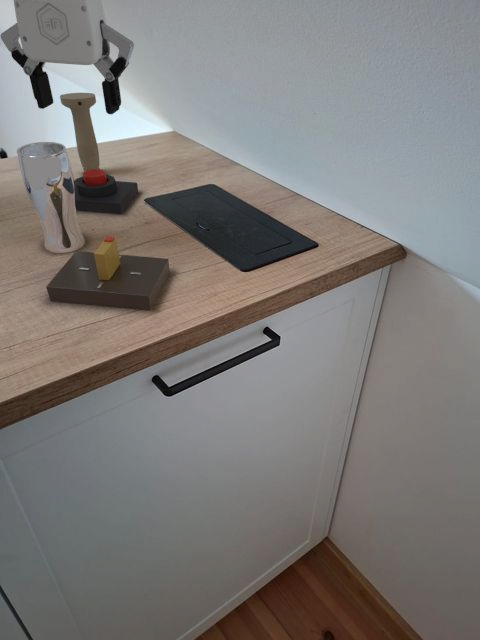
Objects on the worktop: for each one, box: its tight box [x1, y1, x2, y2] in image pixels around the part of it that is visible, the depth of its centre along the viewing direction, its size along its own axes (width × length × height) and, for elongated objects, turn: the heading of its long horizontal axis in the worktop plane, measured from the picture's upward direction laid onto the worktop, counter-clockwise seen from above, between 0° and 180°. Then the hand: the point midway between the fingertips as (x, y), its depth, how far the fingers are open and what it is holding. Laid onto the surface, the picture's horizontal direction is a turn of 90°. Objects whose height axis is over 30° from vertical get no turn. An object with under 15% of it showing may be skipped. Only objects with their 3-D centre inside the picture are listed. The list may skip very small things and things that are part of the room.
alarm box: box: [74, 173, 139, 215], centre depth 91 cm, size 12×10×4 cm
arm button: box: [82, 169, 107, 186], centre depth 89 cm, size 4×4×2 cm
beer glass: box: [16, 141, 86, 254], centre depth 74 cm, size 7×7×15 cm
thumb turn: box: [94, 236, 120, 280], centre depth 67 cm, size 5×1×4 cm, turn 173°
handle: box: [59, 92, 101, 173], centre depth 98 cm, size 5×6×15 cm
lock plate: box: [45, 250, 171, 312], centre depth 69 cm, size 14×10×3 cm
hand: (79, 108), depth 68 cm, fingers open, 9 cm apart
